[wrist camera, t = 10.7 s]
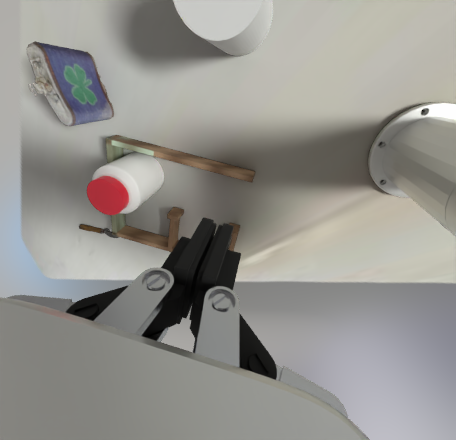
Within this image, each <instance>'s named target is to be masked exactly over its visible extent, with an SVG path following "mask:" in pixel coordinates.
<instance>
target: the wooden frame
mask: <svg viewBox="0 0 456 440" xmlns="http://www.w3.org/2000/svg"><path fill="white" fill-rule="evenodd" d="M123 148H125V149H129V150H132V151H136V152H140V153H144V154H147V155H151V156H155V157H159V158H163V159H166V160H170V161H174V162H178V163H181V164H185V165H189V166H192V167H196V168H200V169H204V170H207V171H211V172H215V173H218V174H222V175H226V176H230V177H233V178H237V179H241V180H245V181H248V182H252V181H253V178H254V174H255V171H251V170H247V169H244V168H240V167H236V166H232V165H229V164H225V163H221V162H217V161H214V160H210V159H206V158H202V157H198V156H195V155H191V154H187V153H183V152H180V151H176V150H172V149H168V148H165V147H161V146H157V145H153V144H149V143H146V142H142V141H138V140H134V139H131V138H127V137H123V136H119V135H115V136H112V137H108V138H106V149H107V163H110V162H113V161H115V160H117V159H119V158H121V157H123ZM183 213H184V210H183V209H179V208H176V207H173V209H172V210H171V211H170V212H169V213H168V214H167V218H168V219H170V228H169V238H168V237H164V236H161V235H158V234H154V233H151V232H147V231H144V230H140V229H137V228H133V227H130V226H126V225H125V214H121V213H118V214H116V215H111V222H112V235H115V236H118V237H122V238H125V239H129V240H132V241H135V242H139V243H142V244H146V245H149V246H153V247H156V248H159V249H163V250H166V251H170V252H172V251H173V249H174V247H175V246H176V244H177V243H178V240H177V239H178V230H179V221H180V217H181V216H182V215H183ZM229 225H232V226H234V227H233V231H232V235H231V236H232V240H231V244H230V247H229V250H231V251H233V250H234V246H235V242H236V239H237V235H238V232H239V228H240V225H236V224H233V223H230V224H229Z"/></svg>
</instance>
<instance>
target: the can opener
mask: <svg viewBox="0 0 456 440" xmlns="http://www.w3.org/2000/svg"><path fill="white" fill-rule="evenodd" d="M79 228H80V229H83V230H87V231H93V232H98V233H106V234H107V235H108V236H110V237H113V238H118V236H115V235H112V232H109V231H107V230H109V229H105V230H104V229H101V228H96V227H92V226H89V225H83V224H81V225H80V226H79Z"/></svg>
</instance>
